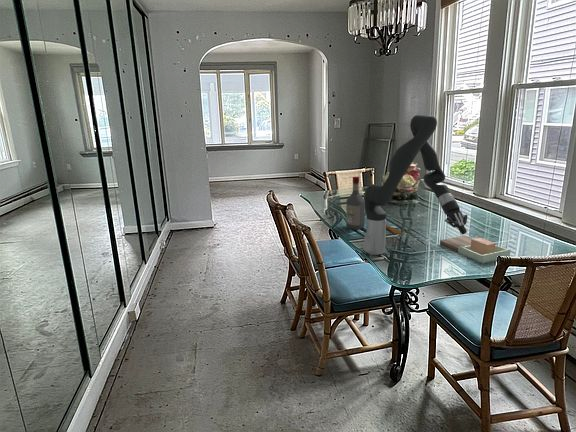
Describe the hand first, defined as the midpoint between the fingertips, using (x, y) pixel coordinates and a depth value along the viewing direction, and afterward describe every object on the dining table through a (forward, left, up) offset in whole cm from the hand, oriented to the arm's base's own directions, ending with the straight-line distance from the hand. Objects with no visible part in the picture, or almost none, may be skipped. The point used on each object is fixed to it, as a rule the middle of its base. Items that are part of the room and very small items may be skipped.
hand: (464, 233), depth 186 cm
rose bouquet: (+32, +90, -7) cm, 96 cm away
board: (0, +1, -7) cm, 7 cm away
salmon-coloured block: (+1, -6, -3) cm, 7 cm away
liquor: (-31, +51, -7) cm, 60 cm away
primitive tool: (-15, +39, -8) cm, 43 cm away
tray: (0, -12, -7) cm, 14 cm away
